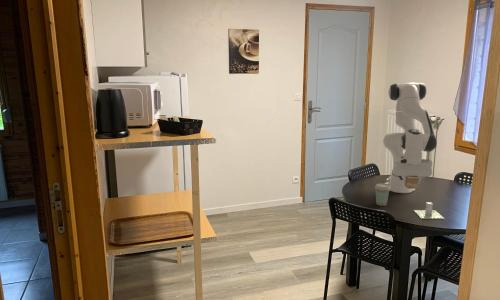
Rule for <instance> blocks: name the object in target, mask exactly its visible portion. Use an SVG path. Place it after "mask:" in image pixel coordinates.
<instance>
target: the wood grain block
mask: <svg viewBox="0 0 500 300" xmlns="http://www.w3.org/2000/svg"><path fill="white" fill-rule="evenodd" d="M418 178H419V177H418V176H405V180H407V184H405V187H406V188H408V189H415V190H417V189H418V185H419V184H418Z"/></svg>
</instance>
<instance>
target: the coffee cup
mask: <svg viewBox="0 0 500 300" xmlns="http://www.w3.org/2000/svg"><path fill="white" fill-rule="evenodd" d="M374 190H375V203H376V205H377V206H380V207H384V206H387V205H388V199H389V193H390V191H389V190H390V187H389V185H388V184H385V183H383V182H382V183H376V184H375V185H374Z"/></svg>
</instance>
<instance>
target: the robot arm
mask: <svg viewBox="0 0 500 300" xmlns="http://www.w3.org/2000/svg"><path fill="white" fill-rule="evenodd" d="M427 92H428V91H427V86H426V84H425V83H423V82H402V83H393V84H391V85H390V86H389V88H388V97H389V99H390V100H392V101H395V102H396V105H395V106H396V107H395V124H396V126H398V128H399V127H400V128H401V129H403V132H391V133H387V134H385V135H384V137H383V140H382V141H383V146H384V147H385V148H386V149H387V150H388V151H389V152H390V153H391V155H392V161H393V164H392V165H393V166H392V170H391V175H390V176H388V178H386V181H385V182H384V184H388V185H389V187H390V190H389V192H393V193H397V194H410V193H412V192H415V191H416V189H408V188H406V187H405V184H407V180H405V176H417V177H418V185H420V182H421V180H422V178H423V177H431V176H432V174H433V170H432V167H433V161H432V160H431V159H428V158H427V159H425V158H424V159H423V152H427V153H431V152H433V151H434V150H435V149H436V148H437V144H438V143H437V142H438V141H437V138H436V136H435V133H434V129H433V126H432V121H431V119H430V114H429V113H428V111H427V109H425V108H424V107H423V106H422V104H421V101H422V100H423V99H424V98H425V97H426V95H427ZM415 120H416V121H418V122H419V123H421V125H422V129H423V131H422V130H420V129H417V128H416V127H417V126H416V125H415ZM423 132H424V133H423ZM404 150H405V151H404Z"/></svg>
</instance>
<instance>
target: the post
mask: <svg viewBox="0 0 500 300" xmlns="http://www.w3.org/2000/svg"><path fill="white" fill-rule="evenodd" d="M433 205H434V203H433V202H430V201H426V202H425V209H413V212H414V214H416V215H417V216H418V217H419V219H421V220H445V217H444V216H442V215H441V214H440V213H439V212H438V211H437V210H433Z"/></svg>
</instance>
